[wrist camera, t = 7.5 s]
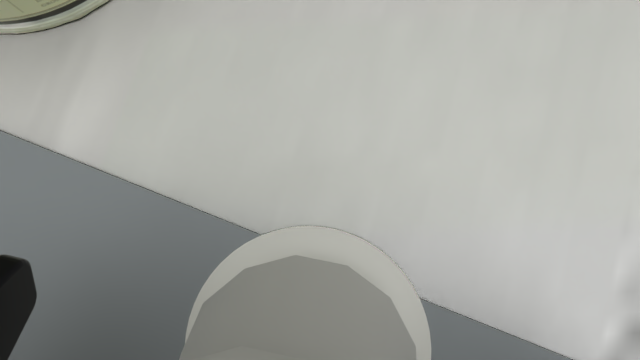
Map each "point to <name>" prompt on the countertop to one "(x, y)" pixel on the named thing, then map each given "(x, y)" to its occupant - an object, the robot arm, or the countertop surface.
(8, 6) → the coffee can
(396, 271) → the mat
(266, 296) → the salt shaker
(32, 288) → the robot arm
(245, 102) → the countertop surface
